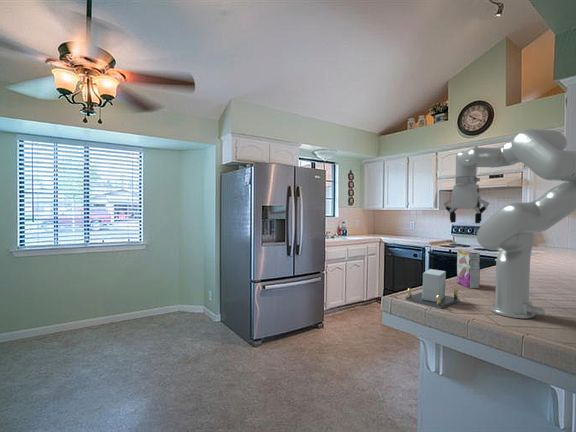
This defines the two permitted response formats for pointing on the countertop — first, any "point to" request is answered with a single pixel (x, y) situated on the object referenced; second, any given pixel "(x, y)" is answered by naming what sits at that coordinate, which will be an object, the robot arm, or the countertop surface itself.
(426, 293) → the skincare box
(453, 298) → the chassis
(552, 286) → the countertop surface
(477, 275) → the candy bar box
